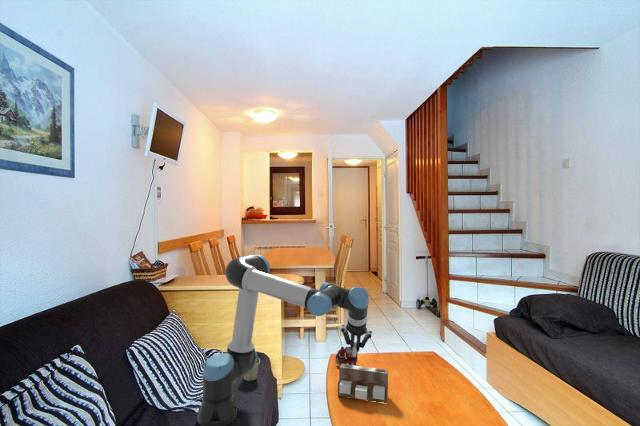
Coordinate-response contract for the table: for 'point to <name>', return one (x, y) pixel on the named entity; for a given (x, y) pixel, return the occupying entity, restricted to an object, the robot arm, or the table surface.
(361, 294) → the robot arm
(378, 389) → the right button
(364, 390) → the middle button
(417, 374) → the table surface
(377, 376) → the console
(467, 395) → the table surface
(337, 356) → the red wheeled toy
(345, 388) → the left button
